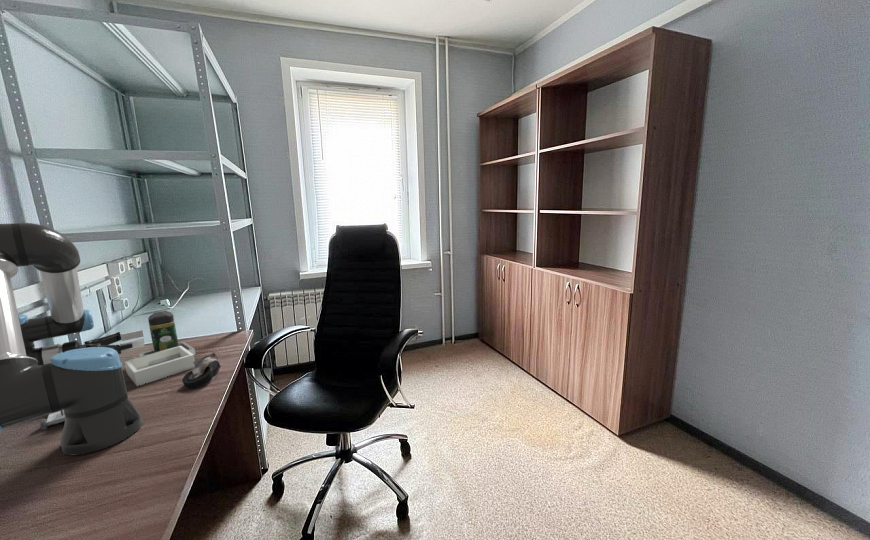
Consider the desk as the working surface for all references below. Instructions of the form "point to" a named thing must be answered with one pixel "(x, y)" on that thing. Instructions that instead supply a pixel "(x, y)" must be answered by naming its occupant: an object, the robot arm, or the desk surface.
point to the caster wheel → (202, 372)
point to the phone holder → (53, 419)
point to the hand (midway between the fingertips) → (143, 337)
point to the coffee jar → (163, 331)
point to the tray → (159, 365)
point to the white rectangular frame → (169, 356)
